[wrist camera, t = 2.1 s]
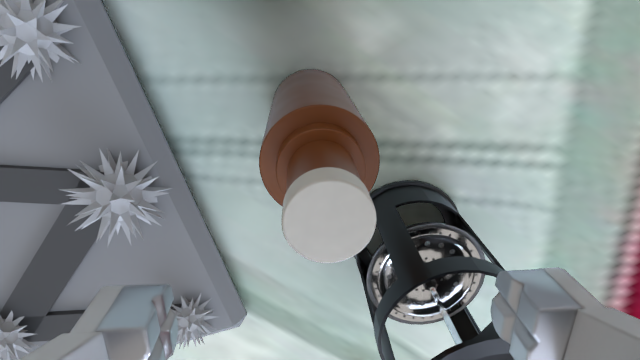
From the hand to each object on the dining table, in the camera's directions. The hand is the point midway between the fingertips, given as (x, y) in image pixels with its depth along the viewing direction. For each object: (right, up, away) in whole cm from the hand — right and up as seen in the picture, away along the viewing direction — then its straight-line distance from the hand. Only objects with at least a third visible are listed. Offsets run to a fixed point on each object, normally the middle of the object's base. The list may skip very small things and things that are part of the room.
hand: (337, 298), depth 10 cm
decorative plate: (-21, +1, +22) cm, 30 cm away
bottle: (-1, +8, +20) cm, 21 cm away
